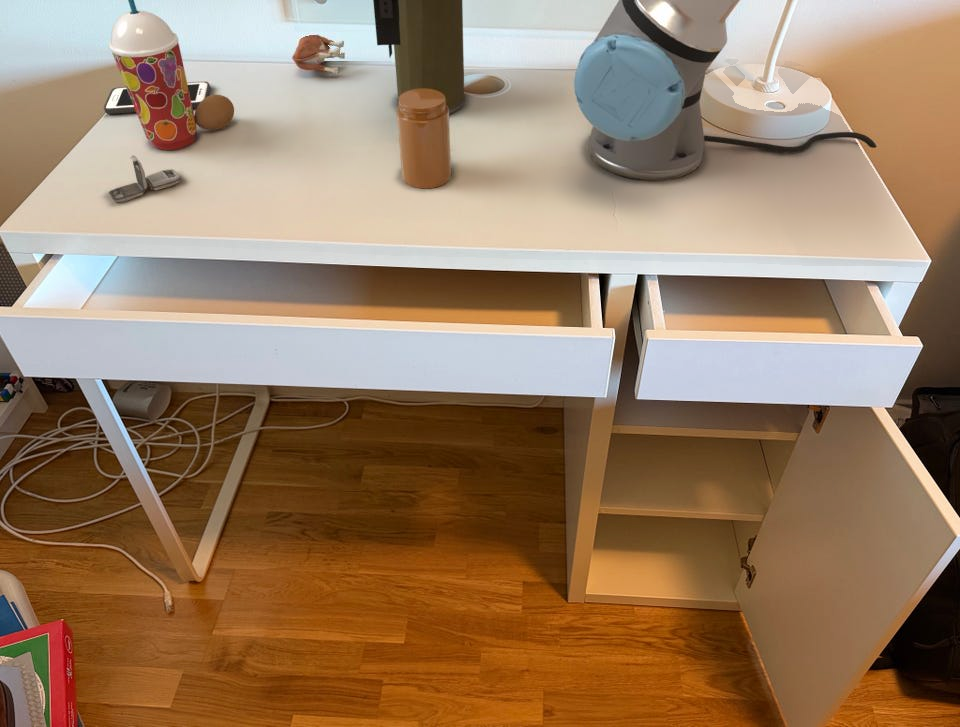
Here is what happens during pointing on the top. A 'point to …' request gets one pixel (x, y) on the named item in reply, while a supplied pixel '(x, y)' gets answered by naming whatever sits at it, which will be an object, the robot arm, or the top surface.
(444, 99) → the jar
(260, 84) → the top surface
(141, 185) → the strap clip
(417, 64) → the canister
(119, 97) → the cell phone
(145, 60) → the smoothie
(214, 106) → the egg
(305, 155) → the top surface
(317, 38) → the bull figurine
